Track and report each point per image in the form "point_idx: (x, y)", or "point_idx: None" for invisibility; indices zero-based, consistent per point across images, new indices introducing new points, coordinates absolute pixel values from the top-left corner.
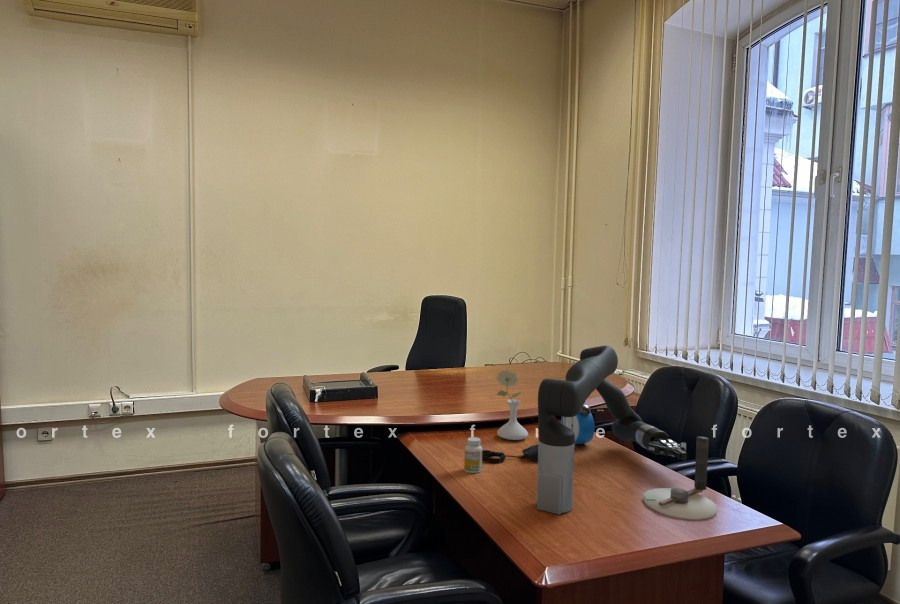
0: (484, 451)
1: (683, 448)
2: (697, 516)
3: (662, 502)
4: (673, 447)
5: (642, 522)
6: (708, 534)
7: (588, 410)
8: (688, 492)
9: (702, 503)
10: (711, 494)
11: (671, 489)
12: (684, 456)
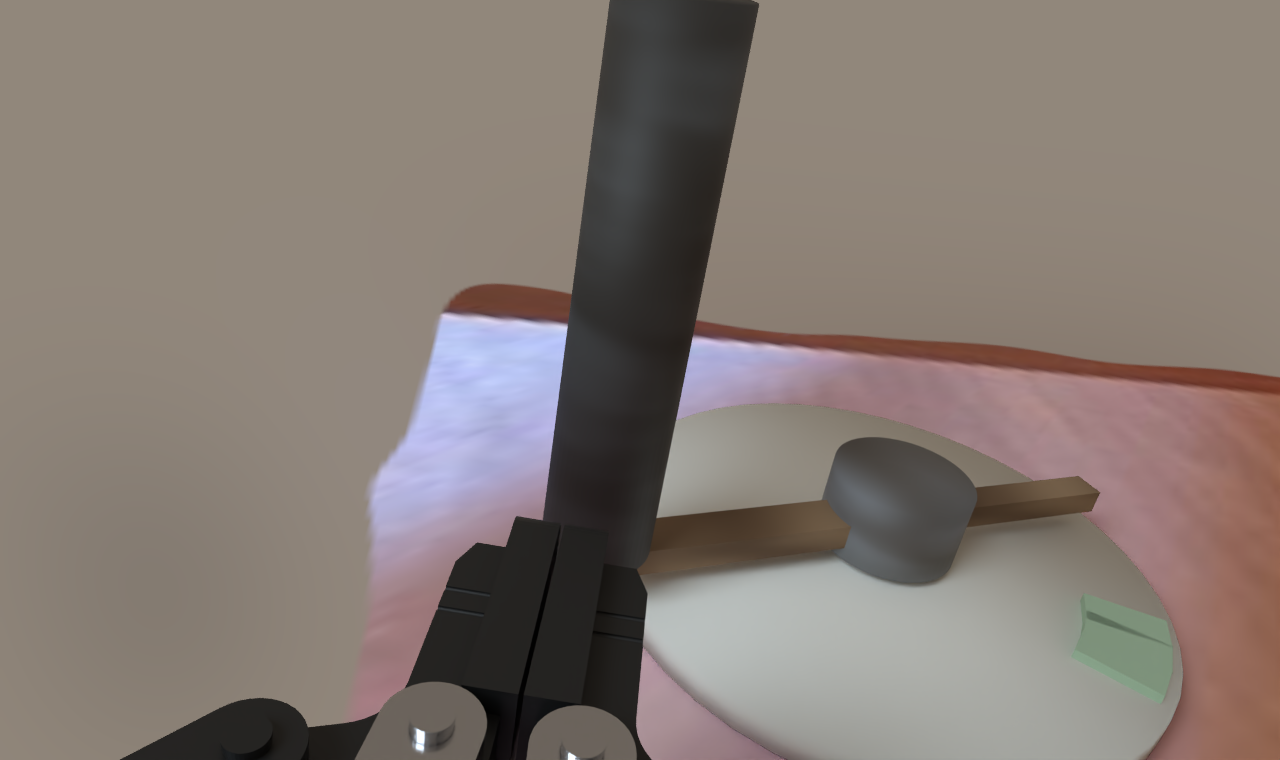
0: None
1: (282, 715)
2: (861, 415)
3: (1074, 481)
4: (578, 740)
5: (1205, 500)
6: (877, 364)
7: None
8: (840, 447)
9: (716, 479)
10: (417, 615)
11: (964, 509)
12: (554, 565)
